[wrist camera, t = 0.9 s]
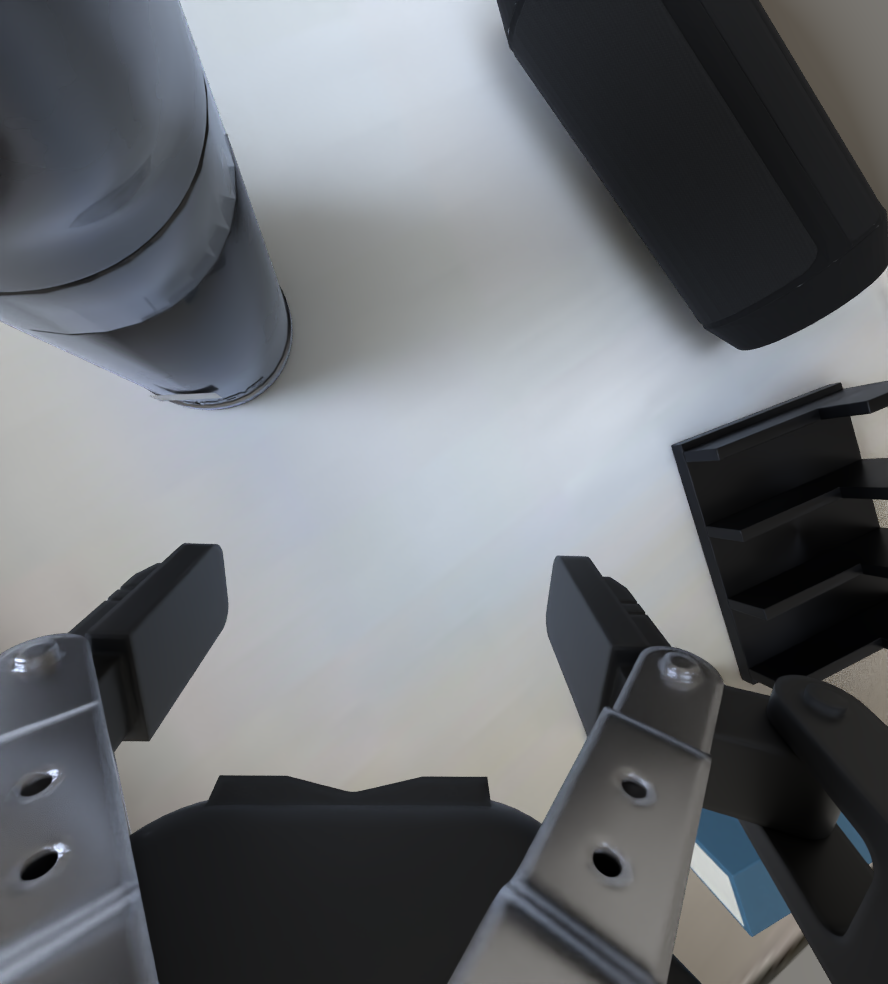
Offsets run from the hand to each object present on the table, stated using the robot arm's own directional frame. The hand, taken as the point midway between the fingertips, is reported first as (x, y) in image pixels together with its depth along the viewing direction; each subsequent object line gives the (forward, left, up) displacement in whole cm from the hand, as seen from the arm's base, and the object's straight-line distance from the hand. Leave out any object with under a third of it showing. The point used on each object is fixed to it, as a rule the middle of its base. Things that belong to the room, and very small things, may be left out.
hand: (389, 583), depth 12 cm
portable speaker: (-15, +25, -18) cm, 34 cm away
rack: (+11, +29, -18) cm, 36 cm away
